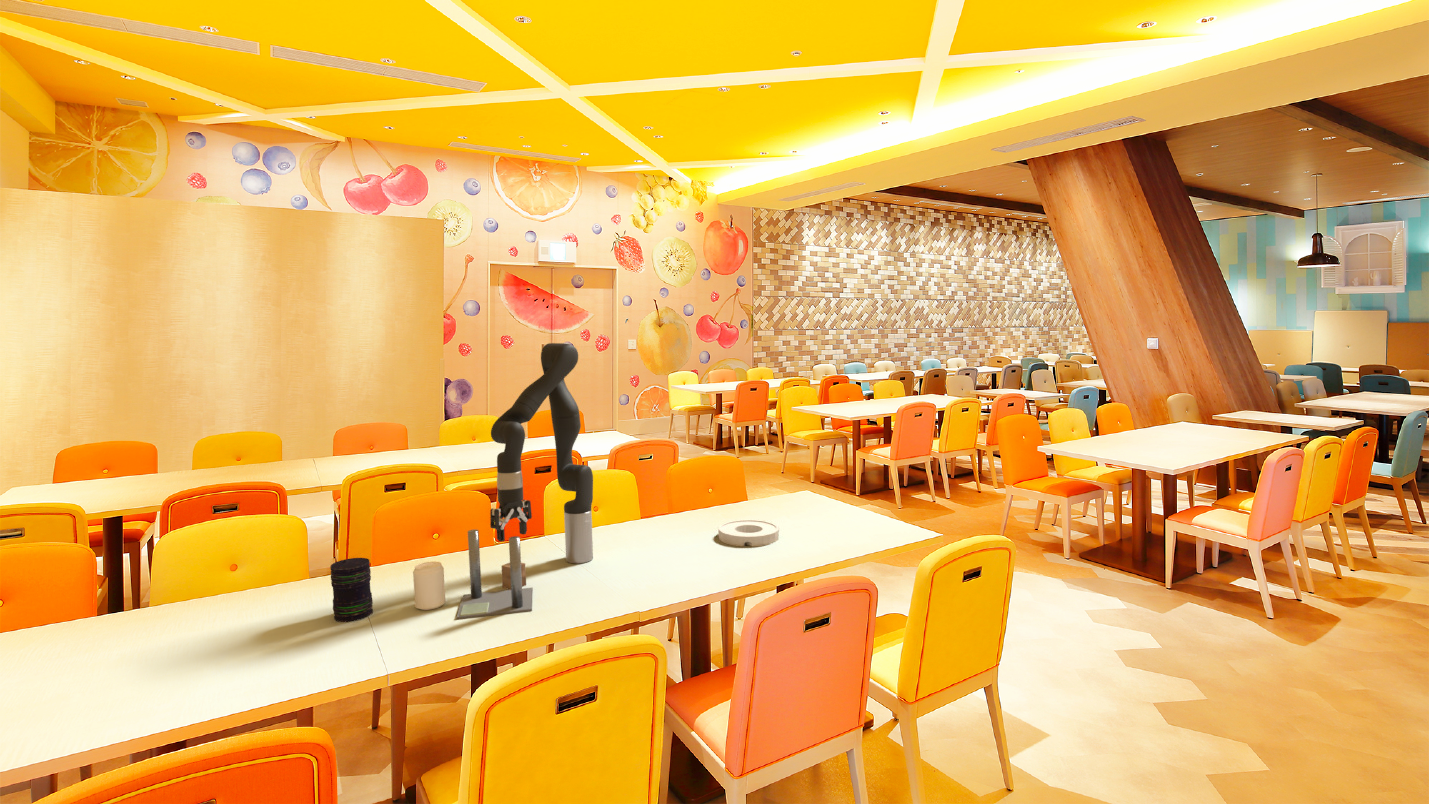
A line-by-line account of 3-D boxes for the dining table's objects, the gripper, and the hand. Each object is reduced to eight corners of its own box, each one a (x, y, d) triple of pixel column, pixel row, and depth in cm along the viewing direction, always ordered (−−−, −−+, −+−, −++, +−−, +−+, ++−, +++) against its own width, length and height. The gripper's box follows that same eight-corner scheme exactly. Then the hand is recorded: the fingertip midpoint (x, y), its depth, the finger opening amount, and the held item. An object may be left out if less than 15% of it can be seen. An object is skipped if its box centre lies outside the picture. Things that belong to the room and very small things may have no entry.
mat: (463, 596, 202) (463, 593, 202) (532, 589, 207) (532, 586, 207) (456, 619, 186) (456, 615, 186) (531, 610, 191) (531, 607, 191)
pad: (463, 606, 193) (463, 605, 193) (488, 603, 195) (488, 602, 195) (461, 615, 187) (460, 614, 187) (486, 613, 188) (486, 611, 188)
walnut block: (515, 582, 214) (514, 560, 213) (526, 585, 211) (525, 563, 210) (502, 587, 209) (501, 565, 209) (513, 590, 207) (512, 568, 206)
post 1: (471, 595, 201) (468, 529, 199) (482, 594, 202) (478, 529, 200) (470, 599, 199) (467, 532, 197) (481, 598, 199) (478, 531, 197)
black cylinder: (380, 612, 192) (377, 560, 190) (347, 625, 183) (343, 571, 182) (359, 605, 197) (356, 555, 195) (326, 617, 188) (322, 565, 187)
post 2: (512, 605, 194) (509, 536, 192) (523, 603, 194) (520, 535, 193) (511, 609, 191) (508, 539, 189) (522, 607, 192) (519, 538, 190)
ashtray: (750, 526, 274) (750, 516, 274) (792, 538, 256) (791, 528, 256) (706, 537, 259) (705, 527, 259) (746, 551, 242) (746, 540, 241)
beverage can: (451, 601, 199) (449, 561, 198) (433, 612, 191) (430, 571, 190) (428, 599, 201) (425, 559, 200) (409, 609, 193) (406, 569, 192)
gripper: (519, 480, 215) (521, 530, 217) (482, 489, 203) (485, 541, 205) (536, 482, 211) (538, 533, 213) (500, 491, 199) (502, 545, 201)
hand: (512, 537), depth 209 cm, fingers open, 8 cm apart
